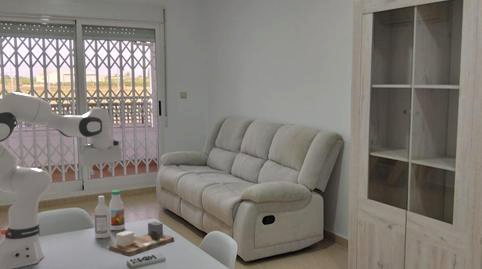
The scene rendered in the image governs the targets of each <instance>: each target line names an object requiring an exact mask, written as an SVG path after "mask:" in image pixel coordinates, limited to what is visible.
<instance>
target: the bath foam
mask: <svg viewBox="0 0 482 269" xmlns="http://www.w3.org/2000/svg"><path fill="white" fill-rule="evenodd" d="M97 201H98V204H97V205H96V207H95V209H94V214H93V216H94V233H95V234H94V235H95V238H96V239H99V238H103V239H108V238H109V237H111V230H110V216H109V206H107V204H106V203H105V202H106V201H105V195H99V196H97Z"/></svg>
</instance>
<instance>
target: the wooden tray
mask: <svg viewBox="0 0 482 269" xmlns="http://www.w3.org/2000/svg"><path fill="white" fill-rule="evenodd" d="M137 237H138V240H137V241H135V240H134V244H131V245H127V246H124V247H122V246H119V245H116V243H114V244H113V243H112V244H110V245H109V246H108V247H109V248H108V249H109V250H111V251H114V252H117V253H119V254H123V255H125V256H129V257H130V256H131V255H135V254H138V253H141V252H143V251H147V250H150V249H152V248H155V247H158V246H161V245H164V244H167V243H170V242H173V241H175V240H174V239H175V238H174V236H171V235H167V234H164V233H163V235H161V236H158V239H157V240H154V239H151V235H148V233H146V234H143V235H140V236H137ZM159 239H160V240H159Z"/></svg>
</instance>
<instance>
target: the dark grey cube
mask: <svg viewBox="0 0 482 269" xmlns="http://www.w3.org/2000/svg"><path fill="white" fill-rule="evenodd" d="M151 230H156V231H157V233H158V236H161V235H163V234H164V224H163V223H162V222H158V221H151V222H148V223H147V234H148V235H151Z"/></svg>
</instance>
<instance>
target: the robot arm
mask: <svg viewBox="0 0 482 269" xmlns="http://www.w3.org/2000/svg"><path fill="white" fill-rule="evenodd" d="M17 122H20V123H24V124H26V125H27V124H28V125H32V126H37V127H40V126H42V127H43V126H45V127H48V128H52V129H55V130H56V131H58V132H59V133H60V134H61V135H62V136H64V137H66V138H84V139H85V138H89V141H90V143H88V144H83V145H82V146H80V149H79V164H80V166H84V167H87V169H88V170H89V175H91V176H94V175H96V170H94V169H93V167H94V165H100V164H108V163H109V164H110V165H109V167H107V172H109V173H112V172H114V166H115V164H116V162H120V161H122V159H123V154H122V148H121V141H120V140H116V139H114V138H111V133H110V128H111V120H110V113H109V111H108V109H107V108H105V107H98V106H97V107H96V106H95V107H91V108H90V109H89V110H88V111H87V112H86V113H84V114H82V115H79V114H78V115H76V114H75V115H74V114H65V115H60V114H58V113H55V112H53V107H52V105H51V104H50V103H49V102H48V101H46V100H45V99H42V98H40V97H37V96H34V95H31V94H28V93H22V92H17V91H10V92H8V93H6V94H4V96H3V97H2V99H1V101H0V192H2V193H6V194H17V197H16V201H15V203H13V204H12V205H10V207H9V208H8V210H7V212H8V213H7V214H8V227H7V229H5V228H1V229H0V234H1V235H4V238H2V240H0V269H18V268H23V267H27V266H30V265H35V264H39V262H40V261H41V260H42V259H43V258H44V257H45V255H44V252H43V249H42V246H41V240H40V235H41V234H40V233H41V231H40V230H41V229H40V223H39V218H38V217H39V212H38V211H39V204H40V200H41V197H42V196H43V195H44V194H45V192H47V191H48V190H49V189H50V187H51V183H52V182H51V180H52V178H51V175H50V174H49V172H48V171H46V170H44V169H41V168H38V167H26V166H25V167H24V166H19V165H17V164H16V163H17V156H16V154H15V153H14V152H13V151H12V150H11V149H9V147H7V146H6V145H5V143H3V142H4V141H6V140H7V139H9V137H10V136H11V135H12V133H13V132H14V129H15V128H16V127H17V124H18V123H17Z"/></svg>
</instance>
